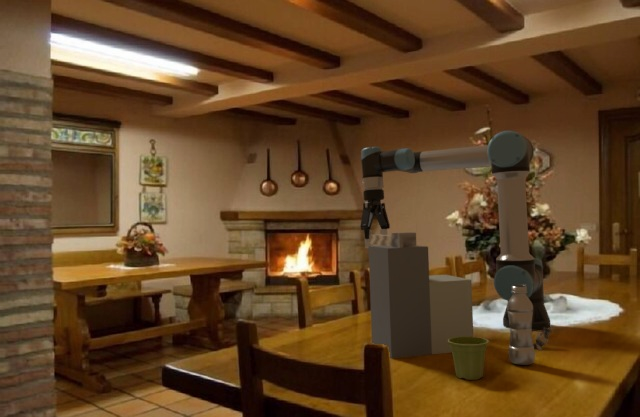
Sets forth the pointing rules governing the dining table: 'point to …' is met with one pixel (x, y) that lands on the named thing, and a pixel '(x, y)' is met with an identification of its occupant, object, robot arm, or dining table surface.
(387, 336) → the pedestal
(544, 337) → the vase
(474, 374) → the plant pot
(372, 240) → the batten
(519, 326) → the plastic bottle
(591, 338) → the dining table surface
